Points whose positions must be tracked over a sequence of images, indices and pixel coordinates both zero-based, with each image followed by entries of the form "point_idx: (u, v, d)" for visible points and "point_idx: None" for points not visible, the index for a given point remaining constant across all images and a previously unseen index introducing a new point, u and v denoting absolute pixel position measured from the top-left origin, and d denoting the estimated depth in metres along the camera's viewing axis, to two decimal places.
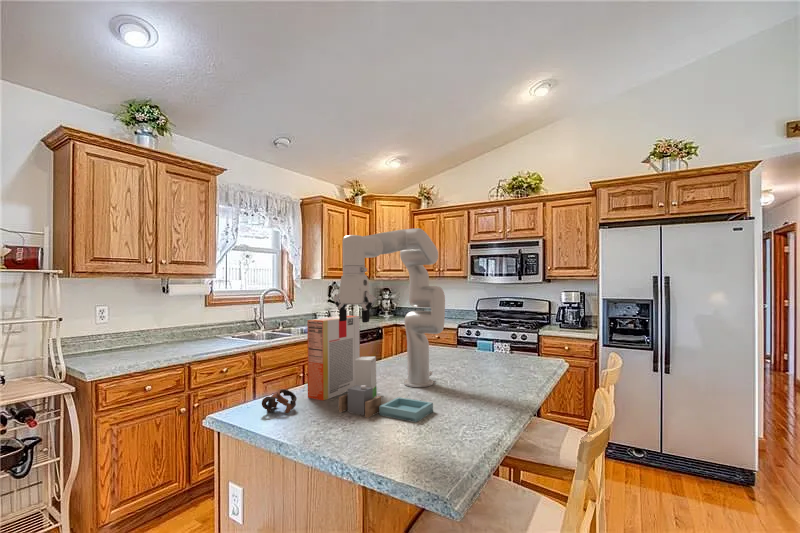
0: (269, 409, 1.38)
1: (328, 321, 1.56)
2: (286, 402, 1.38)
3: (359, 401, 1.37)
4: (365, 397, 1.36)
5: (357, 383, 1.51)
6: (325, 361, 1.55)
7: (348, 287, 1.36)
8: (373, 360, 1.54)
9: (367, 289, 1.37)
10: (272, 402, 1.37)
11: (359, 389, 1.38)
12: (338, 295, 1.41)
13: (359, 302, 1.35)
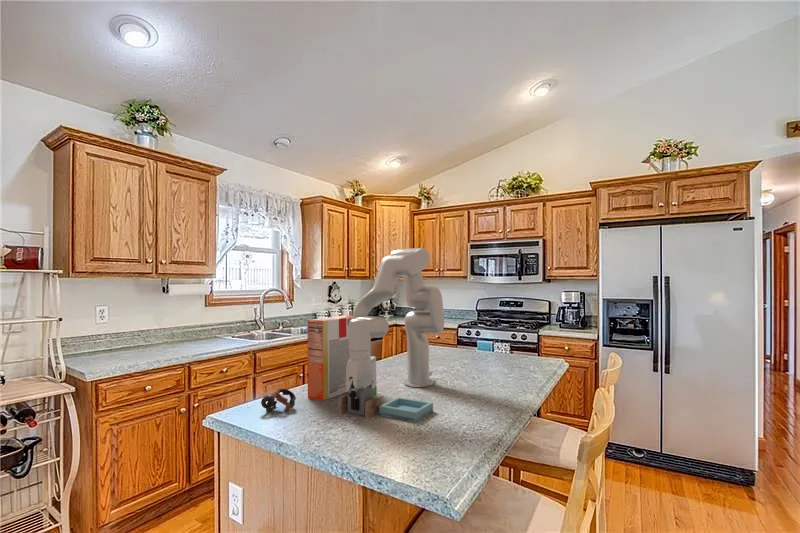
0: (268, 408, 1.39)
1: (328, 321, 1.56)
2: (285, 401, 1.39)
3: (359, 401, 1.37)
4: (365, 397, 1.36)
5: None
6: (325, 361, 1.55)
7: (365, 371, 1.38)
8: (373, 360, 1.54)
9: None
10: (271, 401, 1.38)
11: (359, 389, 1.38)
12: (351, 385, 1.35)
13: (371, 383, 1.42)
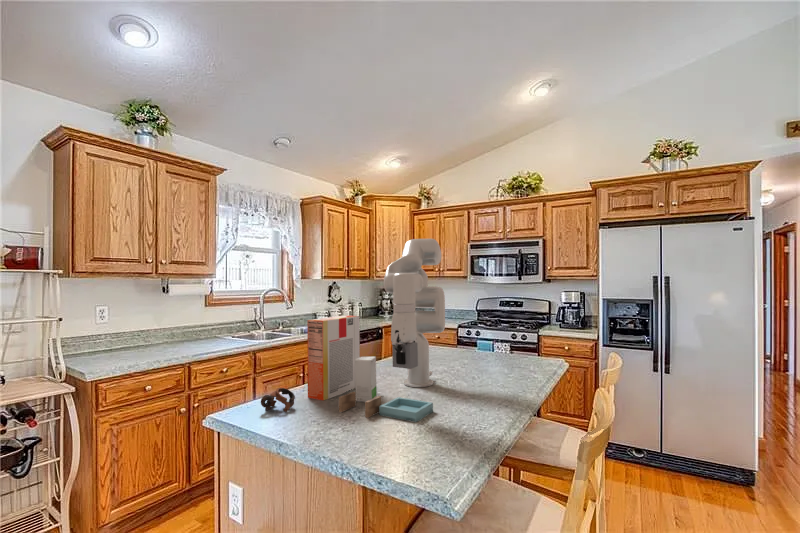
0: (268, 407, 1.39)
1: (328, 321, 1.56)
2: (285, 400, 1.40)
3: None
4: (411, 351, 1.34)
5: (357, 383, 1.51)
6: (325, 361, 1.55)
7: (410, 325, 1.36)
8: (373, 360, 1.54)
9: None
10: (271, 400, 1.39)
11: None
12: (397, 338, 1.33)
13: (415, 338, 1.40)
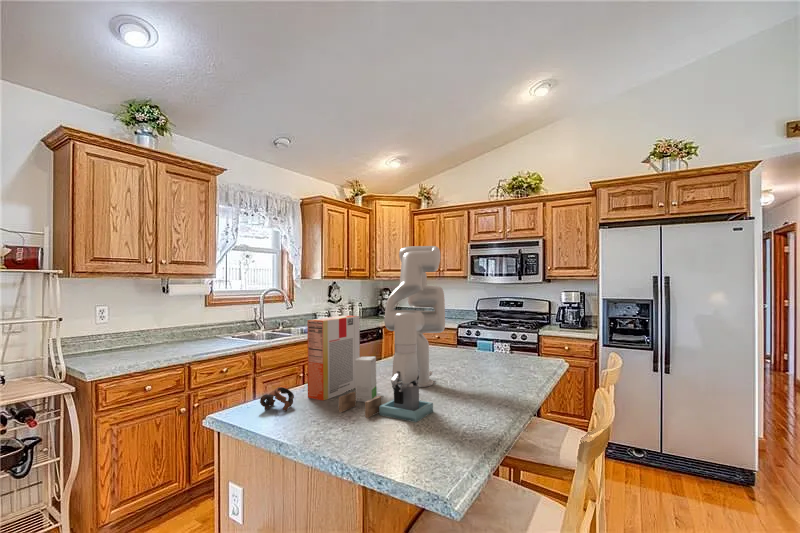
0: (267, 406, 1.40)
1: (328, 321, 1.56)
2: (284, 399, 1.41)
3: (406, 399, 1.34)
4: (412, 396, 1.34)
5: (357, 383, 1.51)
6: (325, 361, 1.55)
7: (411, 366, 1.36)
8: (373, 360, 1.54)
9: None
10: (270, 400, 1.40)
11: (406, 387, 1.36)
12: (397, 377, 1.32)
13: (416, 378, 1.39)
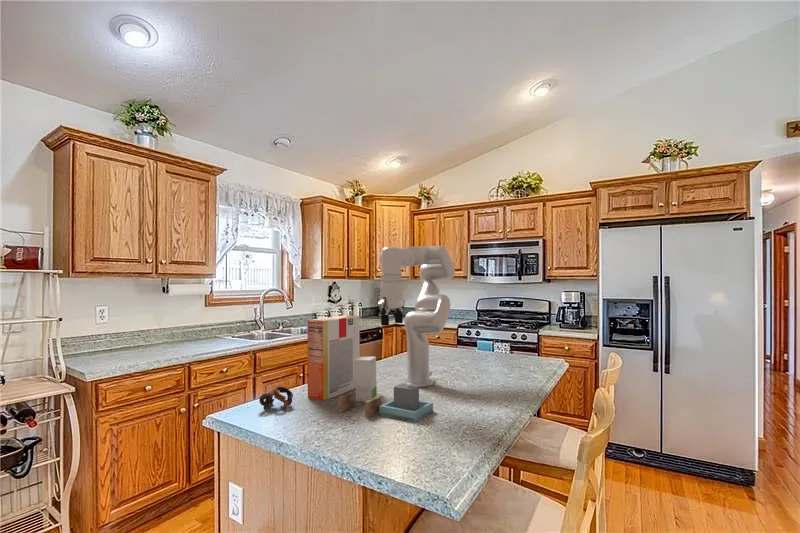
0: (267, 406, 1.41)
1: (328, 321, 1.56)
2: (283, 399, 1.42)
3: (406, 399, 1.34)
4: (412, 396, 1.34)
5: (357, 383, 1.51)
6: (325, 361, 1.55)
7: (396, 294, 1.54)
8: (373, 360, 1.54)
9: None
10: (270, 399, 1.41)
11: (406, 387, 1.36)
12: (384, 301, 1.49)
13: (401, 306, 1.57)
